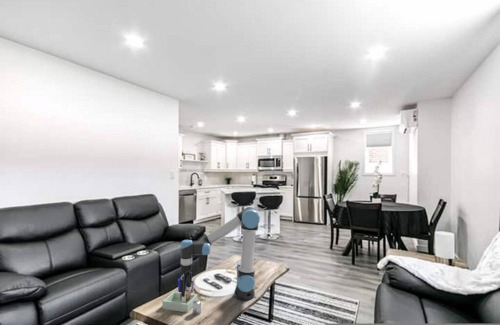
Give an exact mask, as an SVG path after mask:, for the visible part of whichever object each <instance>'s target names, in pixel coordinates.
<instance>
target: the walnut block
mask: <svg viewBox="0 0 500 325" xmlns="http://www.w3.org/2000/svg"><path fill="white" fill-rule="evenodd" d="M185 291H186V301H185V302H187V301H188V300H189V299H190V296H191V294H192V293H191V292H192V291H188V290H185ZM180 301H182V292H181V293H180Z"/></svg>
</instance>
